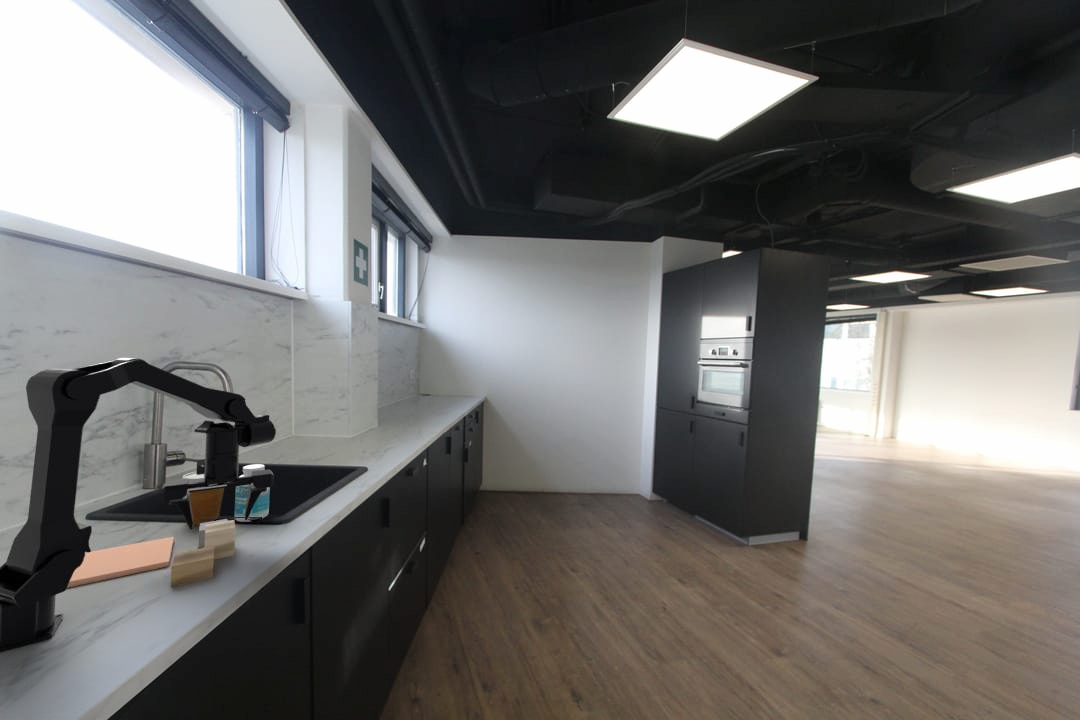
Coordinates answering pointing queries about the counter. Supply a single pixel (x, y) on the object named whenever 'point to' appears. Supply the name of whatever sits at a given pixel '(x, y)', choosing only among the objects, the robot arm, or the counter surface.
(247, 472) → the pill bottle
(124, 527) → the counter surface
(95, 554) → the terracotta tile
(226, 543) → the maple block
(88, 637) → the counter surface
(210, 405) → the robot arm
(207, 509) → the disposable coffee cup
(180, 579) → the oak block
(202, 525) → the grey plastic block
